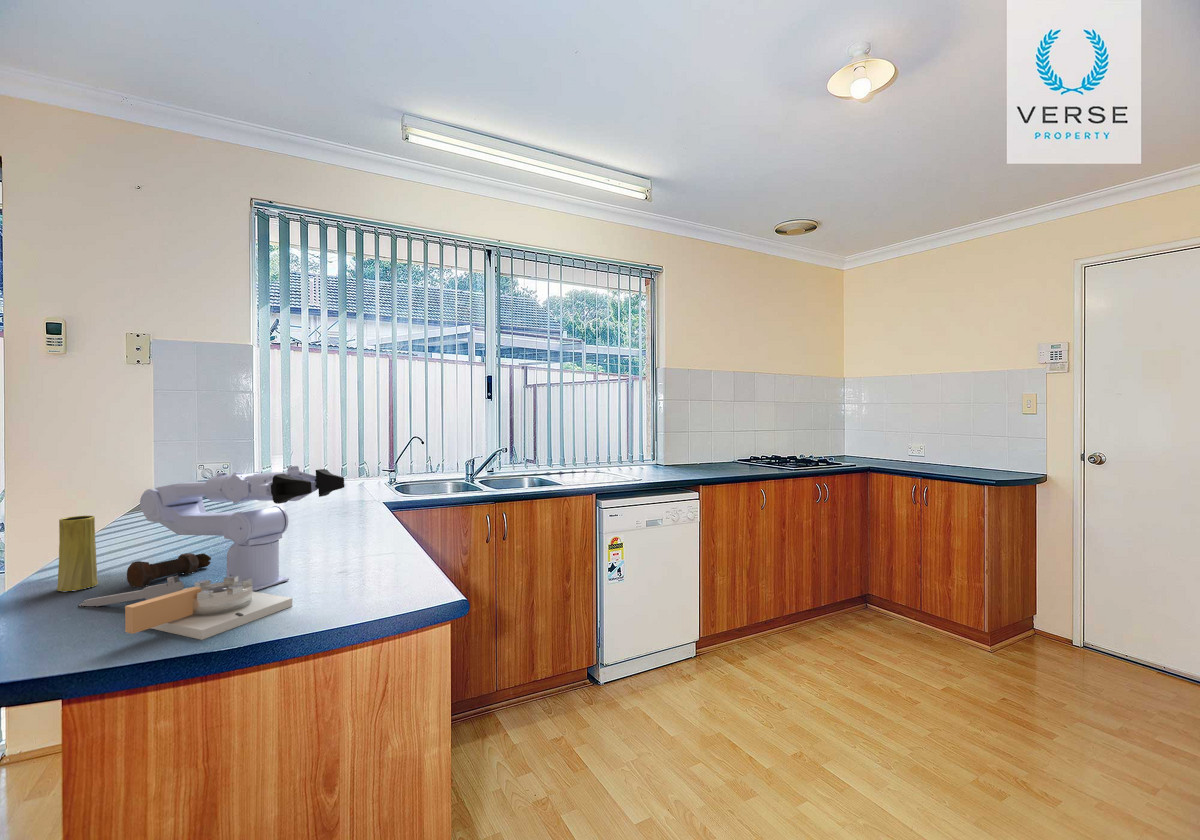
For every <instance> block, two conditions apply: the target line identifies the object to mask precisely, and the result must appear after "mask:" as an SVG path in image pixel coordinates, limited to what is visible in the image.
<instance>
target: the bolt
mask: <svg viewBox="0 0 1200 840" xmlns="http://www.w3.org/2000/svg"><path fill="white" fill-rule="evenodd" d="M211 560H212V557H211V556H209V555H208V554H206V553H198V554H194V553H191V552H189V553H188V552H187V553H181V554H180V555H179V556H178V557H177V558H174V559H170V560H166V561H160V562H155V563H150V562H148V561H140V560H138V561H133V562H132V563H131V564H130V565H129V566H128V568H127V570H126V581H127V584H129V585H130V587H132V586H135V587H134V588H136V587H142V588H144V587H143V586H146V585H149V586H150V583H151V582H152V581H154V580H157V579H161V578H164V577H170V576H173V575H177V574H180V573H184V574H183V575H189V574H188V573H191V574H193V573H192V572H195V573H196V572H197V570H199V569H204V568H206V567H208V566H210V565H211V563H212V562H211ZM146 587H147V586H146Z"/></svg>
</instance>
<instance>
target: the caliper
mask: <svg viewBox="0 0 1200 840" xmlns="http://www.w3.org/2000/svg"><path fill="white" fill-rule="evenodd" d="M166 580H167V582H165V583H161V584H155V585H149V586H146V587H143V588H142V589H139V590H134V591H133V590H132V591H127V592H122V593H116V594H110V595H104V596H99V597H92V598H88V599H85V600H83V602H82V603H79V604H78V605H79V606H80V607H84V606H96V607H101V606H106V605H110V604H111V605H113V604H119V603H123V602H129V601H135V600H141V599H145V600H149V599H152V598H156V597H159V596H163V595H166V594H170V593H174V592H177V591H181V590H183V589H184V588H185V585H184V582H183V580H180V578H179V575H177V574H176V575H175V576H168V577H167V578H166ZM81 605H82V606H81Z"/></svg>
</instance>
